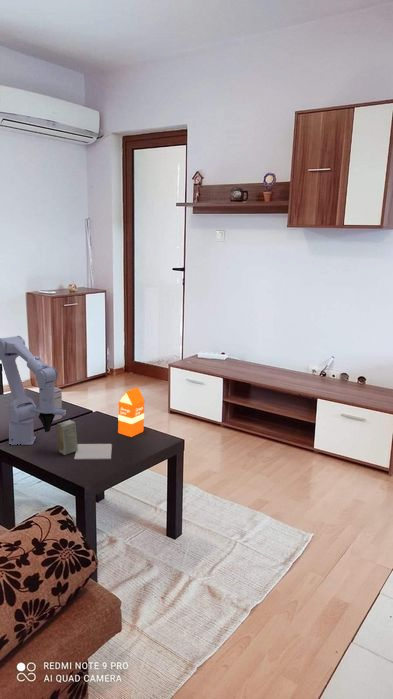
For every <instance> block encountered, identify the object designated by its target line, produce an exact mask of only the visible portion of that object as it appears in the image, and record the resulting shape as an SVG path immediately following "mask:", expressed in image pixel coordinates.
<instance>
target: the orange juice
mask: <svg viewBox="0 0 393 699" xmlns="http://www.w3.org/2000/svg"><path fill="white" fill-rule="evenodd" d="M117 420H118V424H117V428H118V429H117V433H118V434H121V435H124V436H126V437H131V438H132V437H134V436H136V435H139V434H140V433H143V432H144V428H145V427H144V426H145V425H144V422H145V399H144V397H143V395H142V393H141V390H140V389H139V387H134V388H131V389H128V390H126V391H125V392H124V394H123V395H122V397H121V398H120V400H119V401H118V416H117Z"/></svg>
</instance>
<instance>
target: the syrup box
mask: <svg viewBox="0 0 393 699" xmlns="http://www.w3.org/2000/svg"><path fill="white" fill-rule="evenodd" d="M62 390H63V389H62V388H58V387H55V408H59V409H63V402H62V401H63V400H62V398H63V397H62V396H63V394H62V393H63V392H62ZM62 418H63V416H62V415H55V417H54V419H53V421H52V422H55V421H58V420H60V419H62Z"/></svg>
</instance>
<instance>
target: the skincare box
mask: <svg viewBox="0 0 393 699" xmlns="http://www.w3.org/2000/svg"><path fill="white" fill-rule="evenodd" d="M76 424H77V423H76V422H75V421H74V420H71V419H68V420H64V421H62V422H59V423H56V429H57V441H58V442H57V443H58V449H59V450H58V451H59V453H60V454H62V455H63V456H66V455H70V454H72V453H76V451H77V450H78V446H77V445H78V438H77V427H76Z"/></svg>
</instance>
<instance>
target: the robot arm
mask: <svg viewBox="0 0 393 699" xmlns="http://www.w3.org/2000/svg"><path fill="white" fill-rule="evenodd" d="M18 357H20V358H21V359H23V360H24V361H25V362H26V367H27V368H28V369H29V370H30V371H31V372H32V374H34V375H35V380H36V382H37V388H38V392H39V394H38V395H39V396H38V397H39V398H38V400H39V402H38V405H39V406H37V405H36V404H35V402H34V400H33V398H30V397H28V396H27V394H26V391H25V387H24V385H23V382H22V379H21V374H20V371H19V367H18V365H17V362H16V360H17V358H18ZM0 361H1V364H2V367H3V370H4V374H5V378H6V380H7V383H8V387H9V389H10V394H11V396H12V402H11V403H10V404H9V405H8V409H9V417H10V421H9V424H8V445H9V444H11V445H10V446H21V445H22V446H24V445H25V446H26V445H27V446H31V445H34V442H35V441H36V438H37V437H36V435H34V421H35V420H36V418H37V416H38V419H39V420H40V422H41V423H42V426H43V430H44V432H45V433H49V432H50V431H51V427H52V424H53V422H54V421H53V419H54V417H55V415H62V417H65V416H66V414H67V410H66V409H63V408H62V409H59V408H55V386H56V385H55V382H56V381H57V380H58V378H59V376H58V371H57V369H56V368H55V367H54V366H50V365H48V364H46V363H45V361H43V360H42V359H41V357H40V356H38V355H33V353H32V352H31V350H29V349H28V347H27V346H26V342H25V339H24V338H23V337H22V336H21V335H15V336H10V337H1V338H0ZM38 414H39V415H38ZM17 444H18V445H17ZM20 444H21V445H20Z"/></svg>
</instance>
